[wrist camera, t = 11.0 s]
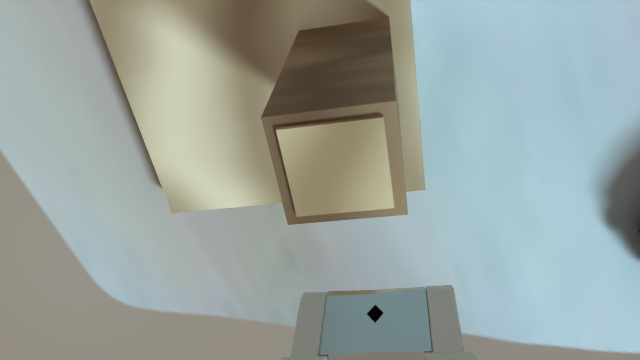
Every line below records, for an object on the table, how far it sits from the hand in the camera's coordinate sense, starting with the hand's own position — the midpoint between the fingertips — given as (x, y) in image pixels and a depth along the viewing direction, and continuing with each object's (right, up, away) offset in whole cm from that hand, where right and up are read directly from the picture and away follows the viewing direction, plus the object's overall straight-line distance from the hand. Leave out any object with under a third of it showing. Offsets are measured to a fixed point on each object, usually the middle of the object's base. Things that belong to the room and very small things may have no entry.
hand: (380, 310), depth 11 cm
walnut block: (0, +8, +13) cm, 15 cm away
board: (-4, +8, +15) cm, 18 cm away
